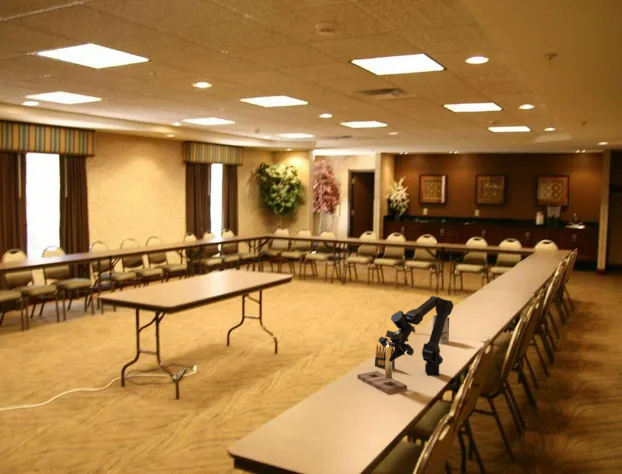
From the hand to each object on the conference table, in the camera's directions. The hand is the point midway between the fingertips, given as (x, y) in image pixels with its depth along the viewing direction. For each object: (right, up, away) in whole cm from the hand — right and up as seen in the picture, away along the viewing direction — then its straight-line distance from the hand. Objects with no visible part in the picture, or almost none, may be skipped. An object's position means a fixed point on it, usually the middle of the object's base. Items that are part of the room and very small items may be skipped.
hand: (387, 360), depth 266 cm
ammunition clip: (+3, -11, +32) cm, 34 cm away
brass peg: (+1, -9, +2) cm, 9 cm away
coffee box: (+45, -7, +83) cm, 95 cm away
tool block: (-2, -13, +7) cm, 15 cm away
